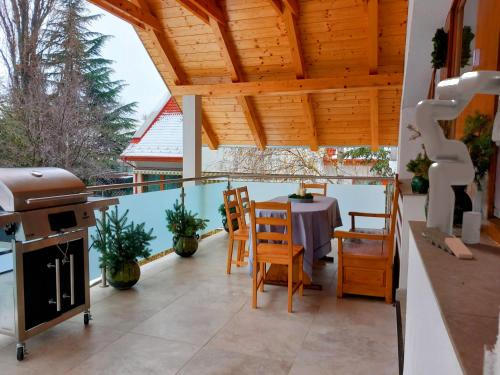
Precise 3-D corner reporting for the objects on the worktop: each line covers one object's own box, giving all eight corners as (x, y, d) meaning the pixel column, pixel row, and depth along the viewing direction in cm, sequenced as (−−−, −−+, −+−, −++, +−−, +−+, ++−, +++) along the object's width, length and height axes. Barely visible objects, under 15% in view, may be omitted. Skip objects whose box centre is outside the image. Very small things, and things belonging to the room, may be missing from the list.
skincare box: (471, 244, 147) (474, 213, 146) (460, 242, 151) (462, 212, 150) (479, 242, 151) (482, 212, 149) (468, 240, 154) (470, 211, 153)
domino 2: (437, 247, 141) (426, 232, 150) (449, 247, 141) (438, 233, 150) (438, 243, 140) (427, 229, 149) (451, 244, 140) (439, 229, 149)
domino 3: (443, 250, 136) (432, 235, 145) (456, 250, 136) (444, 235, 145) (444, 246, 135) (433, 231, 144) (457, 247, 135) (445, 232, 144)
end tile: (473, 254, 126) (458, 238, 135) (459, 254, 126) (445, 237, 135) (471, 258, 126) (457, 242, 135) (457, 258, 126) (444, 241, 136)
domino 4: (450, 254, 131) (438, 238, 140) (463, 254, 131) (450, 239, 140) (451, 250, 131) (439, 234, 140) (464, 250, 130) (451, 235, 139)
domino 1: (431, 244, 145) (421, 230, 154) (443, 244, 145) (432, 230, 154) (432, 240, 145) (422, 226, 154) (444, 241, 145) (433, 227, 154)
